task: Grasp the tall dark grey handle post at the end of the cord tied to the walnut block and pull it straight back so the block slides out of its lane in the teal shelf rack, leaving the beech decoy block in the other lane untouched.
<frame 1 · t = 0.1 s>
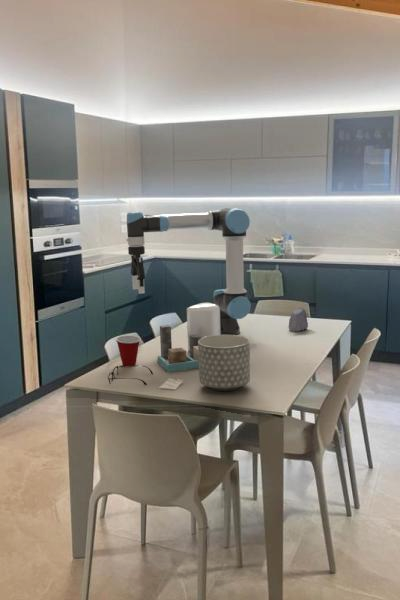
hand: (138, 291, 267), 28 cm above the table, fingers open, 13 cm apart
decoy block: (202, 362, 247), on the table
block: (171, 345, 249), point 7 cm above the table, slide at 0.0 cm
plastic cup: (129, 365, 248), on the table
lane rack: (188, 363, 247), on the table
stone: (297, 330, 302), on the table
planter: (224, 388, 215), on the table
eyeglasses: (131, 380, 228), on the table
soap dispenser: (208, 349, 269), on the table
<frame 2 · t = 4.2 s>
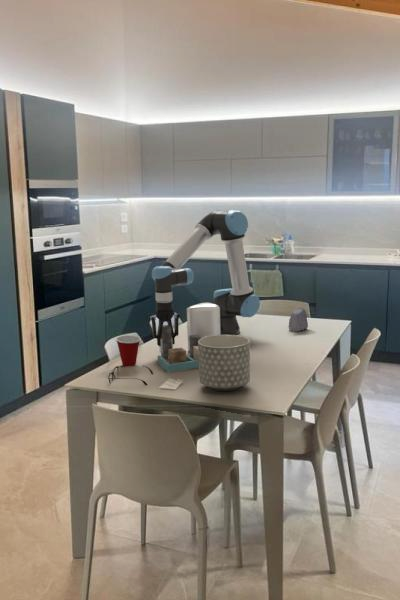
hand: (166, 351, 258), 2 cm above the table, fingers closed on block, 4 cm apart
block: (171, 345, 249), point 7 cm above the table, slide at 0.0 cm, touching gripper
everything else where it was.
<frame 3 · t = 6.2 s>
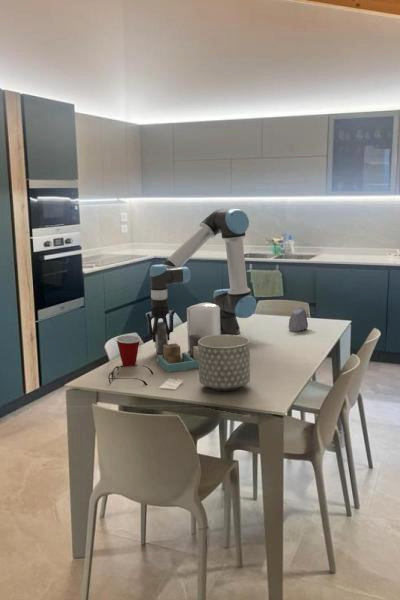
hand: (161, 347, 266), 2 cm above the table, fingers closed on block, 4 cm apart
block: (166, 341, 257), point 7 cm above the table, slide at 7.9 cm, touching gripper
everything else where it was.
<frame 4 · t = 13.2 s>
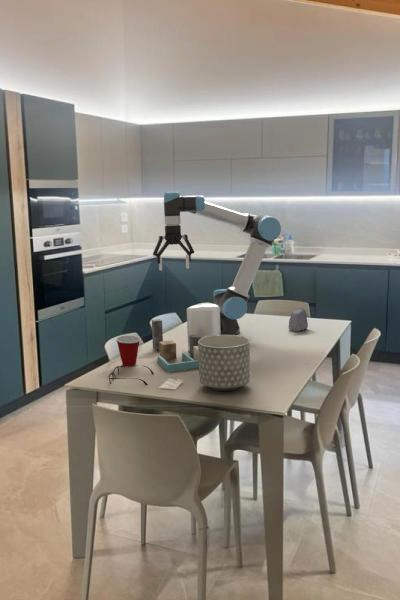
hand: (174, 269, 275), 37 cm above the table, fingers open, 13 cm apart
block: (162, 338, 262), point 7 cm above the table, slide at 14.0 cm
everything else where it was.
at the end: block slide at 14.0 cm; the gripper is holding nothing; decoy block moved 0.0 cm from its start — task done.
